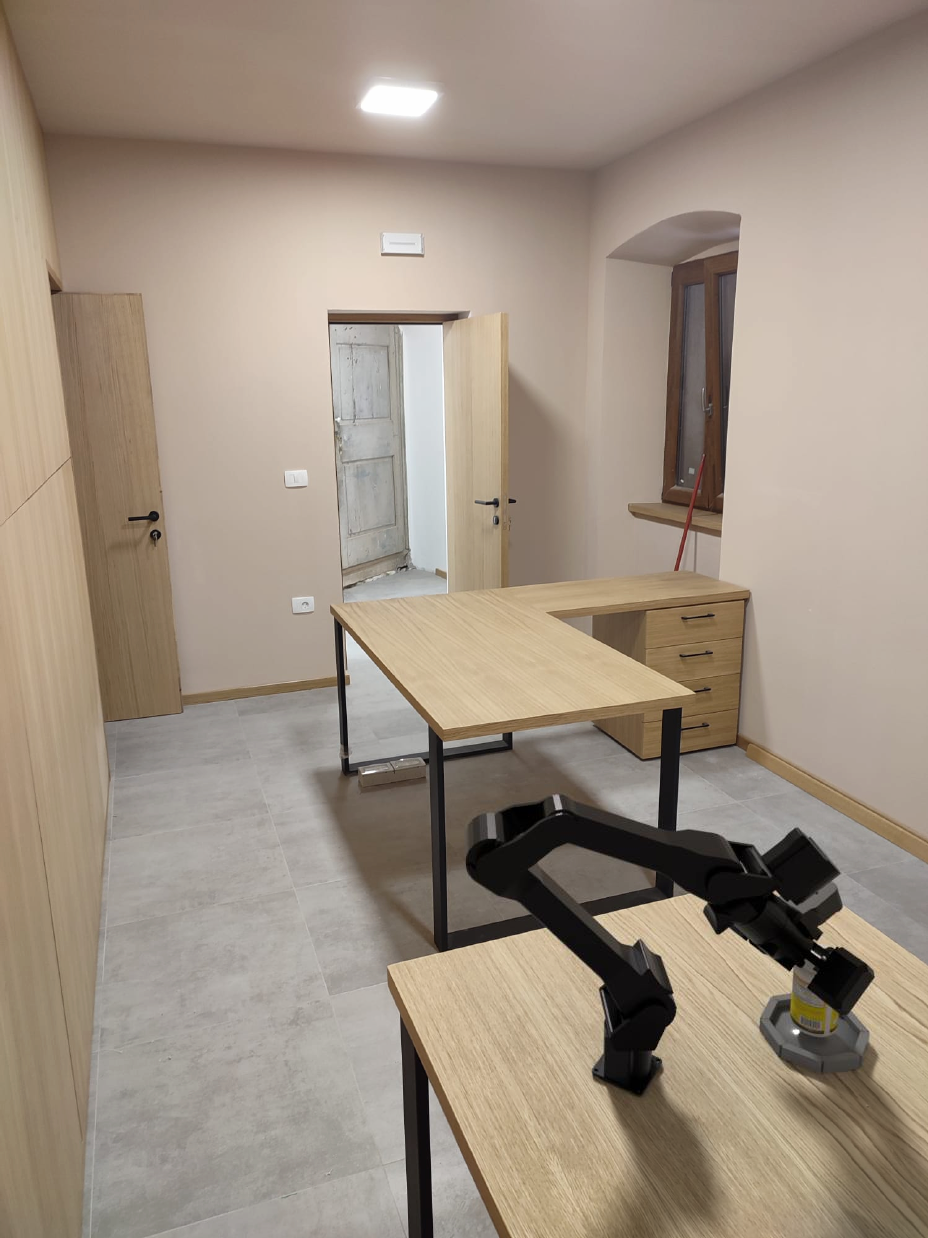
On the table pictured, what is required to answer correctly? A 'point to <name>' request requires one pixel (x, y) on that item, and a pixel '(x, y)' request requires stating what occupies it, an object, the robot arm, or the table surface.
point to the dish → (814, 1039)
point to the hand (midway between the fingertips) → (825, 974)
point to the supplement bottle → (810, 1004)
